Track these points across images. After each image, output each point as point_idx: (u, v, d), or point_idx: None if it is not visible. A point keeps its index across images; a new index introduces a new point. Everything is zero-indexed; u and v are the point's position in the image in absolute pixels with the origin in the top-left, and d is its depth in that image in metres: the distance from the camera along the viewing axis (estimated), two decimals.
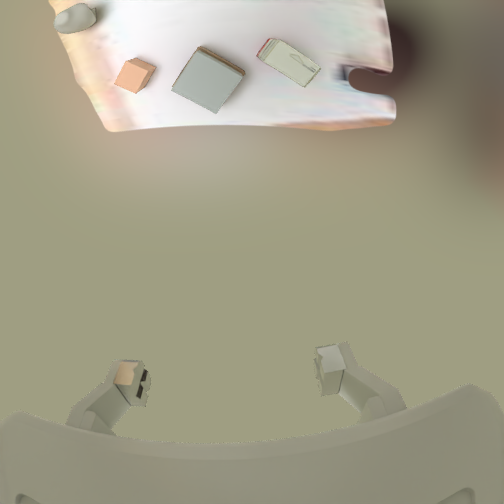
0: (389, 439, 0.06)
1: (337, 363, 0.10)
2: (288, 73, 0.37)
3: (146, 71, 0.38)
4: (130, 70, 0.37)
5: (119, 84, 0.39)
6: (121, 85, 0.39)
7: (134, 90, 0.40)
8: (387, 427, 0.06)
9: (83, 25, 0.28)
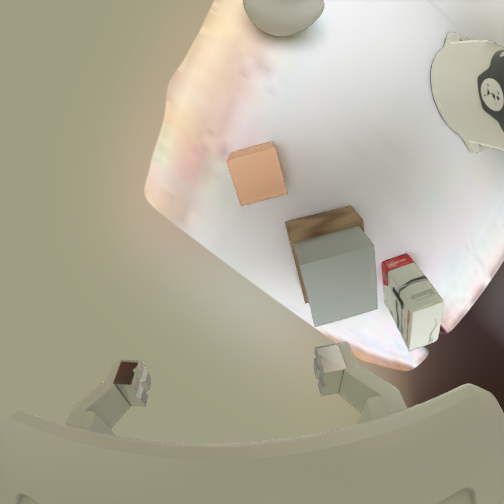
0: (389, 439, 0.06)
1: (337, 363, 0.10)
2: (414, 334, 0.30)
3: (284, 192, 0.28)
4: (267, 167, 0.27)
5: (232, 170, 0.27)
6: (234, 174, 0.27)
7: (243, 199, 0.28)
8: (387, 427, 0.06)
9: (280, 27, 0.19)
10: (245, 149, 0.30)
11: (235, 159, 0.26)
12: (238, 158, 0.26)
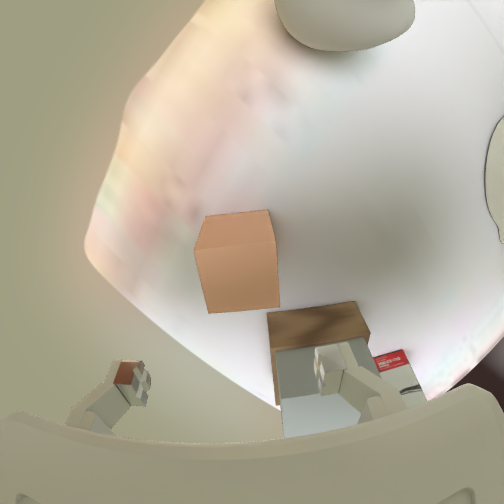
0: (389, 439, 0.06)
1: (337, 363, 0.10)
2: None
3: (276, 304, 0.19)
4: (256, 268, 0.17)
5: (202, 265, 0.17)
6: (203, 271, 0.17)
7: (213, 306, 0.19)
8: (387, 427, 0.06)
9: (330, 34, 0.10)
10: (227, 218, 0.21)
11: (208, 250, 0.17)
12: (213, 249, 0.17)
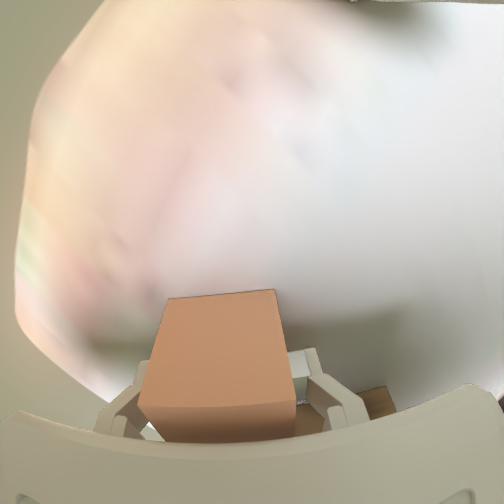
0: (389, 439, 0.06)
1: (301, 369, 0.10)
2: None
3: None
4: (257, 428, 0.08)
5: (158, 421, 0.08)
6: (162, 427, 0.08)
7: None
8: (387, 427, 0.06)
9: None
10: (202, 310, 0.12)
11: (164, 407, 0.07)
12: (173, 407, 0.07)
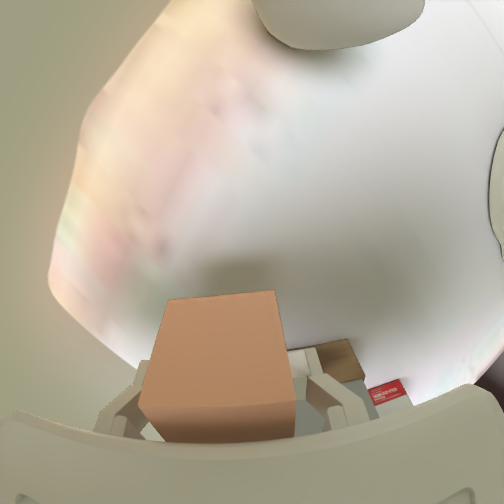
0: (389, 439, 0.06)
1: (301, 369, 0.10)
2: None
3: None
4: (257, 428, 0.08)
5: (158, 422, 0.08)
6: (162, 428, 0.08)
7: None
8: (387, 427, 0.06)
9: (319, 24, 0.08)
10: (202, 311, 0.12)
11: (164, 408, 0.07)
12: (173, 408, 0.07)
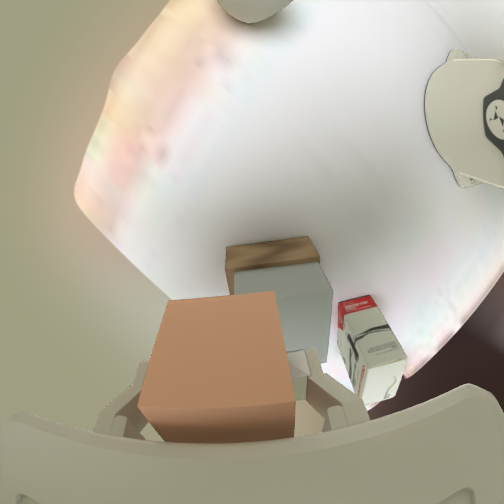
0: (389, 439, 0.06)
1: (301, 369, 0.10)
2: (367, 390, 0.26)
3: None
4: (256, 429, 0.08)
5: (158, 422, 0.08)
6: (162, 428, 0.08)
7: None
8: (387, 427, 0.06)
9: (246, 6, 0.14)
10: (202, 312, 0.12)
11: (163, 408, 0.07)
12: (172, 408, 0.07)
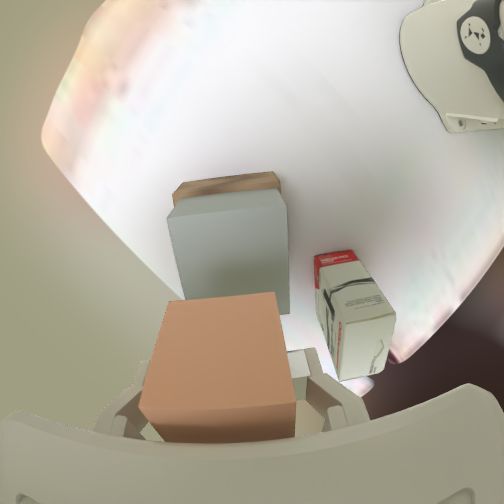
0: (389, 439, 0.06)
1: (301, 369, 0.10)
2: (347, 358, 0.22)
3: None
4: (257, 430, 0.08)
5: (159, 423, 0.08)
6: (163, 429, 0.08)
7: None
8: (387, 427, 0.06)
9: None
10: (203, 313, 0.12)
11: (164, 409, 0.07)
12: (173, 409, 0.07)
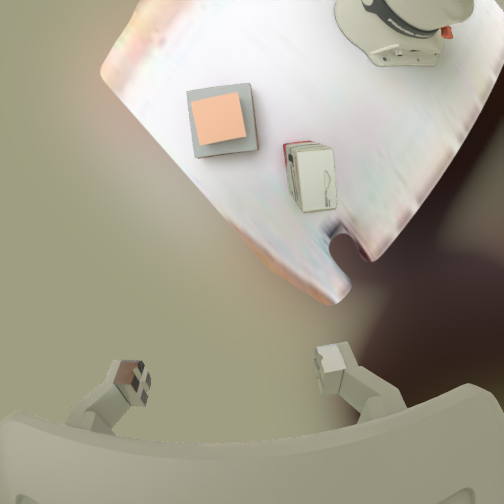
0: (389, 439, 0.06)
1: (337, 363, 0.10)
2: (304, 185, 0.34)
3: (243, 134, 0.27)
4: (228, 109, 0.26)
5: (195, 110, 0.26)
6: (196, 114, 0.26)
7: (203, 139, 0.27)
8: (387, 427, 0.06)
9: None
10: None
11: (199, 101, 0.25)
12: (202, 100, 0.25)
